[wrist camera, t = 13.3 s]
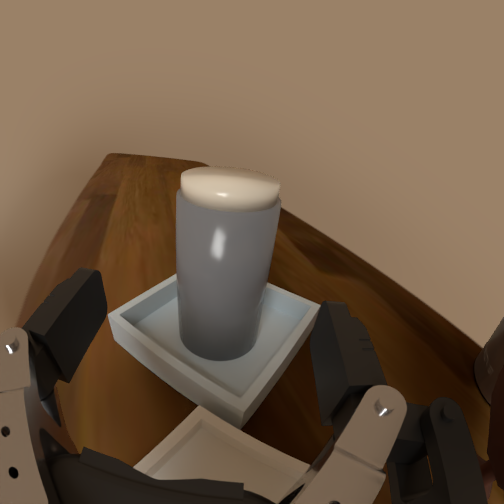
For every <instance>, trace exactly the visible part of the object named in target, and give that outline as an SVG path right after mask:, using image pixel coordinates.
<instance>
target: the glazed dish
mask: <svg viewBox="0 0 504 504" xmlns="http://www.w3.org/2000/svg"><path fill="white" fill-rule="evenodd" d="M320 306H321V305H319V304H316V303H314V302H312V301H309V300H307V299H305V298H302V297H300V296H298V295H295V294H293V293H291V292H288V291H286V290H284V289H281V288H279V287H277V286H274V285H272V284H270V283H267V287H266V293H265V298H264V303H263V309H262V314H261V319H260V324H259V330H258V335H257V340H256V343H255V345H254V347H253V348H252V349H251V350H250V351H249V352H248V353H247V354H245V355H244V356H242V357H239V358H237V359H234V360H229V361H212V360H207V359H204V358H201V357H199V356H197V355H195V354H193V353H192V352H190V351H189V350H188V349H187V348H186V347H185V346H184V344H183V343H182V341H181V338H180V334H179V320H178V301H177V274H175V275H173V276H172V277H170V278H168V279H167V280H165V281H163V282H161V283H160V284H158V285H156V286H155V287H153V288H151V289H150V290H148V291H146V292H145V293H143V294H141V295H140V296H138V297H136V298H134V299H133V300H131V301H129V302H128V303H126V304H124V305H123V306H121V307H119V308H118V309H116V310H114V311H113V312H111V313H109V314H108V318H109V321H110V325H111V329H112V333H113V336H114V340H115V341H116V342H118V343H119V344H120V345H121V346H122V347H123V348H124V349H125V350H127V351H128V352H129V353H130V354H131V355H132V356H134V357H135V358H136V359H137V360H138V361H140V362H141V363H142V364H143V365H144V366H146V367H147V368H148V369H149V370H151V371H152V372H153V373H154V374H156V375H157V376H158V377H160V378H161V379H162V380H163V381H165V382H166V383H167V384H169V385H170V386H171V387H173V388H174V389H176V390H177V391H178V392H180V393H181V394H182V395H184V396H185V397H187V398H188V399H190V400H191V401H192V402H194V403H195V404H197V405H198V406H199V405H200V406H202V407H203V408H205V409H206V410H208V411H209V412H211V413H212V414H214V415H216V416H217V417H219V418H220V419H222V420H224V421H225V422H227V423H229V424H230V425H232V426H234V427H235V428H237V429H239V430H241V429H242V427H243V426H244V425H245V424H246V422H247V421H248V420H249V419H250V417H251V416H252V415H253V413H254V412H255V411H256V410H257V408H258V407H259V406H260V404H261V403H262V402H263V400H264V399H265V398H266V396H267V395H268V394H269V392H270V391H271V389H272V388H273V387H274V385H275V384H276V383H277V381H278V380H279V378H280V377H281V375H282V374H283V373H284V371H285V370H286V368H287V367H288V365H289V364H290V363H291V361H292V360H293V358H294V357H295V355H296V354H297V352H298V351H299V349H300V348H301V346H302V345H303V343H304V342H305V340H306V338H307V337H308V335H309V334H310V332H311V331H312V329H313V327H314V324H315V321H316V318H317V315H318V312H319V309H320Z"/></svg>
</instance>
